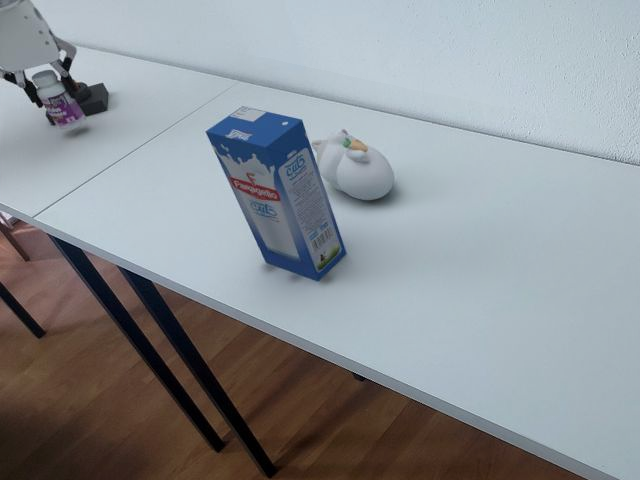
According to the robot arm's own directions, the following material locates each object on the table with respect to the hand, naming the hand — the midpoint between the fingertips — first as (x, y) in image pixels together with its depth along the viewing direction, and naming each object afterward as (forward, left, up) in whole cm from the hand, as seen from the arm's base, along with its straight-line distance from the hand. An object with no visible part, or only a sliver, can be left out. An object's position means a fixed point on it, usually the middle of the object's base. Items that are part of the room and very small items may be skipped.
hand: (57, 99), depth 119 cm
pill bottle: (0, 0, -5) cm, 5 cm away
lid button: (0, +11, -3) cm, 11 cm away
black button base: (0, +11, -7) cm, 13 cm away
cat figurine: (+45, -49, -7) cm, 67 cm away
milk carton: (+34, -62, -7) cm, 71 cm away
